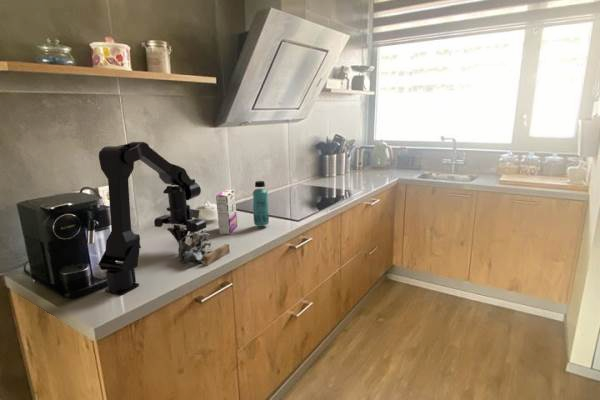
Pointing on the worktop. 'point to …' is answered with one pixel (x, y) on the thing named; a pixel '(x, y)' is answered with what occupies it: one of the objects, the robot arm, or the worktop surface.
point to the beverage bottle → (260, 205)
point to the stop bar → (216, 254)
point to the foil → (195, 246)
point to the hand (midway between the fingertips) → (182, 246)
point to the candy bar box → (226, 211)
